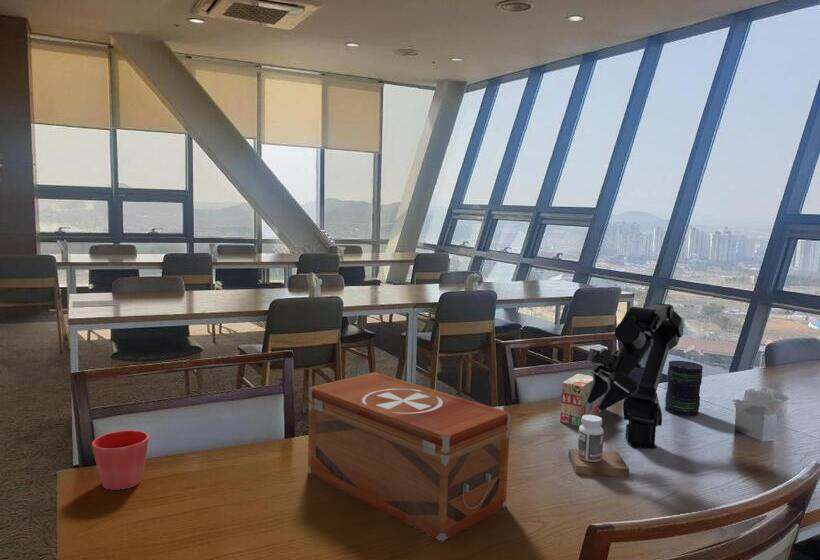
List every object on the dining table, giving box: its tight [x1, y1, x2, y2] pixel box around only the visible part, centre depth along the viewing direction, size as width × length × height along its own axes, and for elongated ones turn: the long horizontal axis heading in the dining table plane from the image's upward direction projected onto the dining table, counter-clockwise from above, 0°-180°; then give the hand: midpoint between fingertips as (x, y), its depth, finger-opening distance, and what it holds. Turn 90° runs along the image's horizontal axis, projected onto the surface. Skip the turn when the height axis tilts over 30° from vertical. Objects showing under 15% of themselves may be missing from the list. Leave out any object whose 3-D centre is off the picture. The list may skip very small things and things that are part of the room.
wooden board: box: [567, 448, 630, 478], centre depth 148 cm, size 12×10×2 cm
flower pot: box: [91, 430, 150, 491], centre depth 131 cm, size 11×11×10 cm
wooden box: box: [307, 371, 511, 542], centre depth 132 cm, size 20×41×20 cm, turn 46°
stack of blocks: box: [559, 373, 605, 428], centre depth 185 cm, size 21×6×12 cm, turn 144°
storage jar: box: [664, 360, 703, 418], centre depth 191 cm, size 10×10×15 cm
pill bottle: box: [577, 415, 605, 462], centre depth 147 cm, size 6×6×10 cm
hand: (594, 405), depth 152 cm, fingers open, 9 cm apart
